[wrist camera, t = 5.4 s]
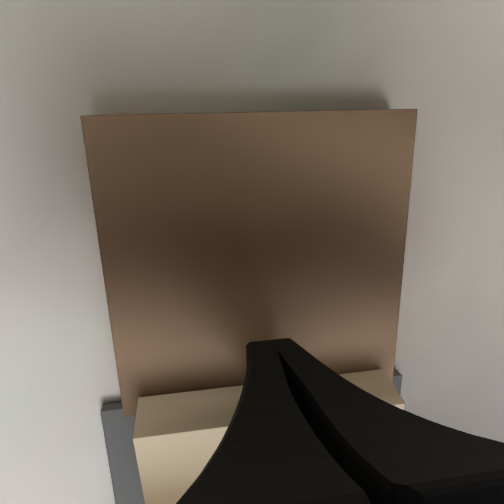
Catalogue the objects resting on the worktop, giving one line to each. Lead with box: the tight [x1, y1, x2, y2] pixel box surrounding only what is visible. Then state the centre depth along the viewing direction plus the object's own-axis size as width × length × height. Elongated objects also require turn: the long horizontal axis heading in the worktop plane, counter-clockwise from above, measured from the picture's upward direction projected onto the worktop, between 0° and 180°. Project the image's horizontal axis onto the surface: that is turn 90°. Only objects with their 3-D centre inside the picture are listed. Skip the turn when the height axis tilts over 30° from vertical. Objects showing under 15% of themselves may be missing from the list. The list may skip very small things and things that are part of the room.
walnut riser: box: [81, 109, 418, 418], centre depth 12 cm, size 9×9×2 cm
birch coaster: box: [133, 369, 405, 504], centre depth 14 cm, size 8×8×2 cm
